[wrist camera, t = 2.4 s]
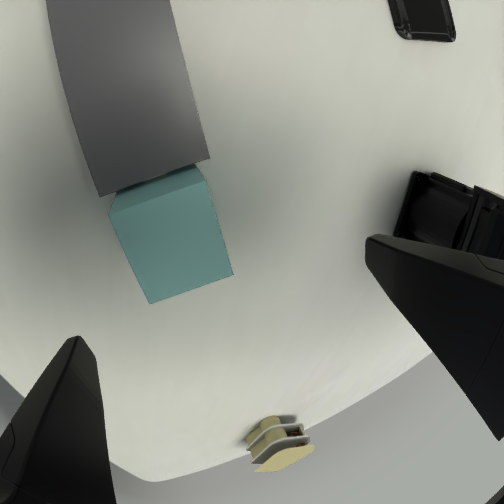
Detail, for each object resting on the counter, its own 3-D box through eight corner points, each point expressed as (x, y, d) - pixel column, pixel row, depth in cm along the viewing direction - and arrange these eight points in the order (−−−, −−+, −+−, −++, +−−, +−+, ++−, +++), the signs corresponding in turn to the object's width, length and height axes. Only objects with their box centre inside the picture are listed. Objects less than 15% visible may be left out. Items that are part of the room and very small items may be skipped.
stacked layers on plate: (270, 446, 39) (283, 476, 34) (220, 440, 34) (232, 476, 30) (318, 406, 37) (336, 438, 32) (270, 397, 32) (288, 435, 28)
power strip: (200, 148, 18) (212, 160, 15) (108, 181, 17) (98, 200, 14) (139, -100, 8) (141, -131, 5) (52, -71, 7) (38, -97, 4)
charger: (211, 228, 21) (233, 274, 16) (147, 251, 20) (149, 304, 15) (178, 117, 17) (190, 122, 12) (107, 142, 16) (87, 160, 11)
